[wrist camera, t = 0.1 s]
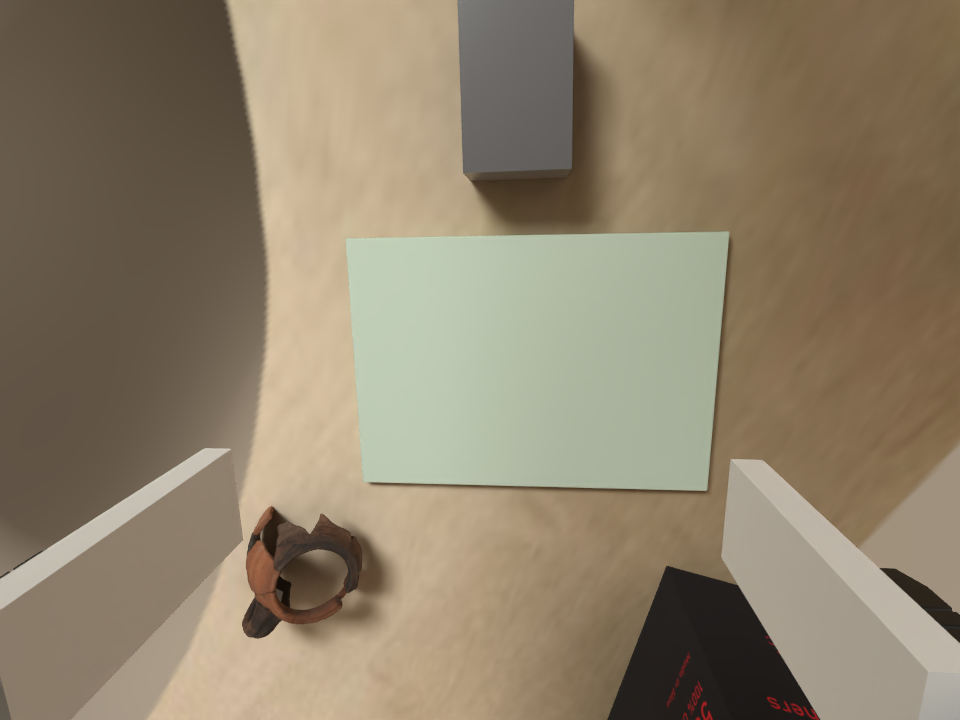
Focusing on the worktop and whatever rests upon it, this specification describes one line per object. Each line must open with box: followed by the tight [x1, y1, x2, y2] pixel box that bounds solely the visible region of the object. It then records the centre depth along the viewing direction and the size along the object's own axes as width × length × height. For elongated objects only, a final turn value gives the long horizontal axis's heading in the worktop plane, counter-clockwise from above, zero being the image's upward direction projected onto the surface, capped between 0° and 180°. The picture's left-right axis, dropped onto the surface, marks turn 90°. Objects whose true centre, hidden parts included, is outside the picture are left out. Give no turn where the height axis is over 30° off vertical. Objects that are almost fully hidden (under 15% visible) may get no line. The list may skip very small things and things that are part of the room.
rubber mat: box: [346, 232, 729, 491], centre depth 41 cm, size 20×28×1 cm
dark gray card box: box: [458, 0, 574, 181], centre depth 35 cm, size 10×7×5 cm
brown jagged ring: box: [242, 506, 362, 639], centre depth 45 cm, size 12×10×8 cm
